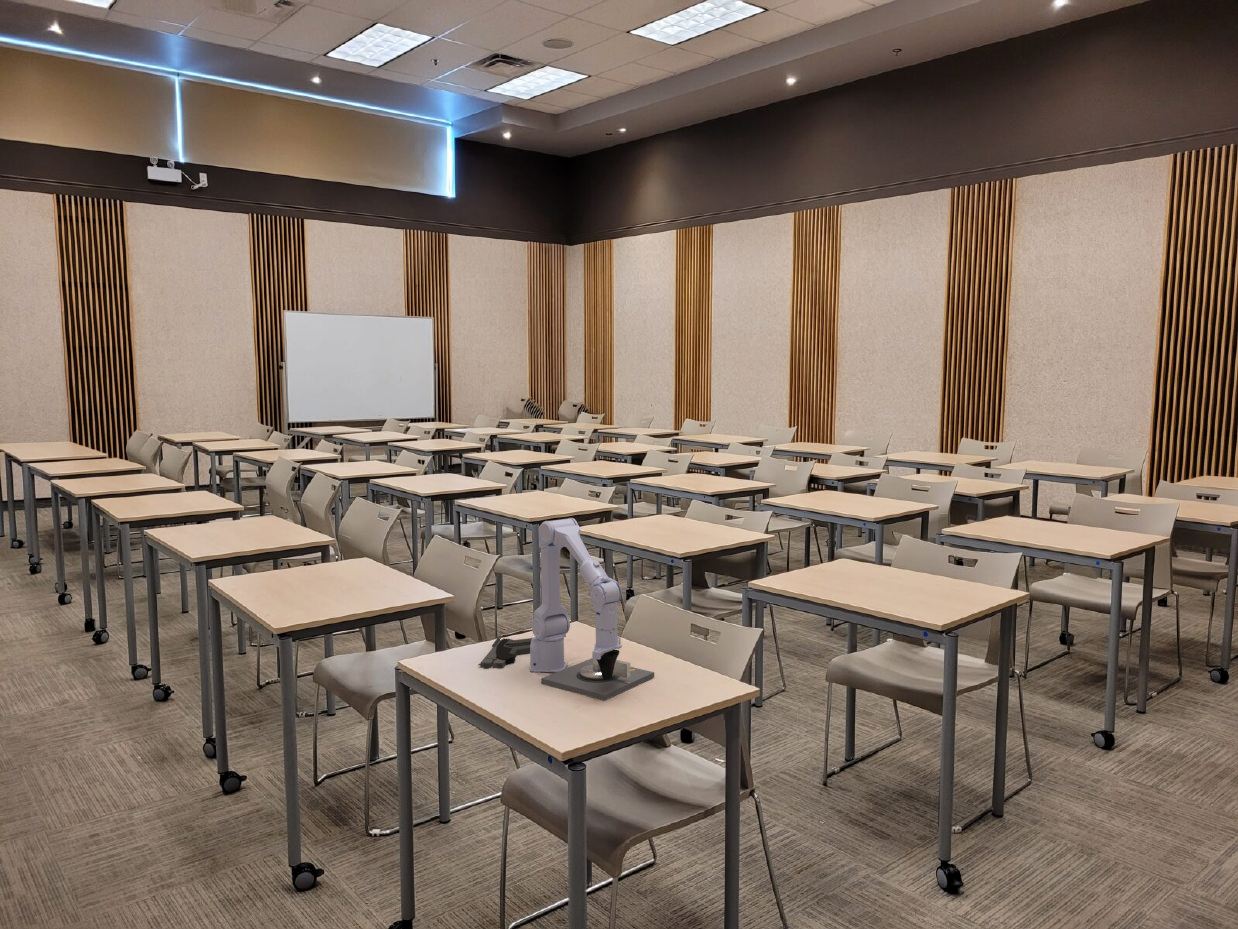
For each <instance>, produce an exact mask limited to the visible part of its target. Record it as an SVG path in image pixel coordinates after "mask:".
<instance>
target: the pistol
mask: <svg viewBox="0 0 1238 929" xmlns="http://www.w3.org/2000/svg"><path fill="white" fill-rule="evenodd" d="M532 638H533V637H531V638H530V637H529V638H520V639H513V638H512V639H510V638H501V637H497V638H496V639H495V641H494V642H493V643H492V645H491V647H492V648H491V649H490V651H489V652H488V653H487V654H486V655H485V656H484V658H483V659H482V660H481V661H480V663H478V666H480V668H481V669H484V670H487V669H488V670H489V669H492V668H493V669H504V668H505V667H506V666H508V665H513V664H514V663H515V662H516V658H517V657H518V656H524V655H530V645H531V640H532ZM500 639H501V640H500Z"/></svg>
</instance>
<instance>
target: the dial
mask: <svg viewBox="0 0 1238 929" xmlns="http://www.w3.org/2000/svg"><path fill="white" fill-rule="evenodd" d="M630 667H631V662H629V661H624V660H620V659H616V662H615V666H614V670H613V675H612V677H614V676H620V677H624V678H628V677H630ZM580 676H581V677H583V678H586V679H590V680H604V679H603V677H602V674H601V670H600V666H599V664H598V662H597V660H596V659H593V665H587V666H584V667H582V668H581V669H580Z"/></svg>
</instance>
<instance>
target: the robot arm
mask: <svg viewBox="0 0 1238 929" xmlns="http://www.w3.org/2000/svg"><path fill="white" fill-rule="evenodd" d="M538 548H540V563H541V564H540V571H541V572H540V573H541V574H540V575H541V605H539V607H538V608H537V609H535V610H534V612H533V620H532V622H531V632H532V634H533V636H534V637H531V638H532V640H531V645H530V654H529V658H530V659H529V660H530V662H529V664H530V669H529V672H535V673H537V672H538V673H556V672H558V671H561V670H564V669H566V667H567V666H568V664H569V662H566V661H565V642H564V641H565V638H566V637H567V634H568V633H569V630H570V627H571V622H570V618H569V614H568V609H567V608H566V607H564V606H563V605H562V604H561V571H560V570H561V568H560V567H561V565H560V563H561V562H560V560H561V558H560V550H562V549H563V548H566V549H567V550H568V551H569V553H570V554H571V555H572V556H573V558H574V559H575V560H576V562H577V563H578V564H579V566H580V568H579V574H580V575H581V576H582V578H583V580H584V581H585V583H586V585H587V586H588V588H589V590H590V593H589V596H590V599H591V600H590V601H591V602H592V605H593V606H592V609H593V611H594V612H595V615H594V616H595V618H594V619H595V643H594V648H593V650H592V652H591V653H592V657H591V658H592V659H596V660H597V662H598V664H599V666H600V670H601V674H602V677H603V679H609V680H610V679H611V678H612V675H613V670H614V666H615V662H616V660H618V657H619V655H620V650H621V648H622V647H623V645H622V643H621V637H620V636H618V602H620V601H621V599H622V595H623V593H622V588H621V586H620V584H619V582H618V581H616V580H615V579H613V578H611V577H609V576H608V574H607V573H606V571H605V570H604V568H603V566H602V564H600V562H599V561H598V560H597V559H593V558H592V557H591V555H590V553H589V551H588V549H587V547H586V545H585V544H584V542H583V540H582V538H581V527H580V526H579V523H578V522H577V520H576V519H575V518H573V517H568V518H563V519H556V520H545V521H543V522H542V523H541V524H540V525H539V526H538Z"/></svg>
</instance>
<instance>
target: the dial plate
mask: <svg viewBox="0 0 1238 929" xmlns="http://www.w3.org/2000/svg"><path fill="white" fill-rule="evenodd" d="M587 665H593V659H592V657H591V658H589V659H587V660H584V661H581V662H580V663H576V664H574V665H572V666H569V667H567V668H565V669H564V670H561V671H558V672H552V673H551V674H548V675H546V676H544V677H541V679H540V680H541V681H540V682H541V684H542V685H544V686H545V685H546V686H547V687H548V686H549V687H552V688H555V689H556V688H557V689H560V690H563V691H567V692H571V693H575V694H579V695H582V696H586V697H589V698H593V699H597V700H601V701H605V702H606V701H607V700H609V699H611V698H613V697H615V696H618V695H620V694H622V693H625V692H627V691H628V690H631V689H632V688H635V687H637V686H639V685H642V684H643V683H646V682H648V681H650V680H652V679H654V678H655V672H654V671H650V670H646V669H642V668H638V667H634V666H630V677H628V678H624V677H620V676H614V677H612V678H611V679H610V680H609V679H604V680H590V679H586V678H583V677H581V676H580V669H581V668H582V667H584V666H587Z"/></svg>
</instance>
